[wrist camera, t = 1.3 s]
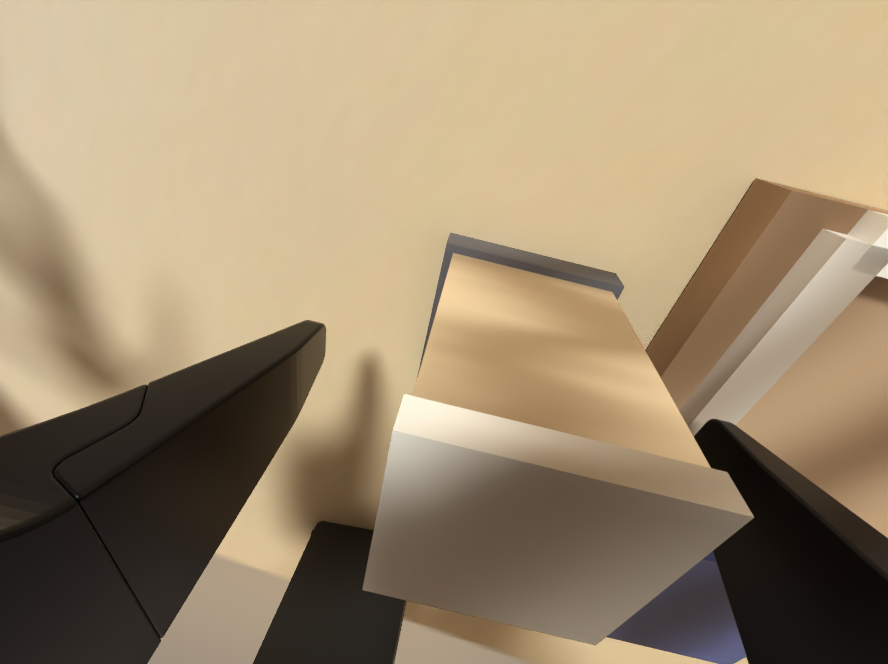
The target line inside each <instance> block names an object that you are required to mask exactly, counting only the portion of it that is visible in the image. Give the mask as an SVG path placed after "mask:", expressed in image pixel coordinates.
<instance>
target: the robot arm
mask: <svg viewBox="0 0 888 664" xmlns="http://www.w3.org/2000/svg"><path fill="white" fill-rule="evenodd" d="M325 346H326V327H325V325H324V324H323V323H319V322H315V321H311V320H306V321H303V322H300V323H298V324H295V325H293V326H290V327H288V328H285V329H283V330H280V331H278V332H275V333H273V334H270V335H268V336H265V337H263V338H260V339H258V340H255V341H253V342H250V343H248V344H245V345H243V346H240V347H238V348H235V349H232V350H230V351H227V352H225V353H222V354H220V355H217V356H215V357H212V358H210V359H207V360H205V361H202V362H200V363H197V364H195V365H192V366H190V367H187V368H185V369H182V370H180V371H177V372H175V373H172V374H170V375H167V376H165V377H162V378H160V379H157V380H155V381H152V382H150V383H149V384H148V386H147V385H142V386H139V387H137V388H134V389H132V390H129V391H127V392H124V393H122V394H119V395H116V396H114V397H111V398H108V399H106V400H103V401H101V402H98V403H95V404H93V405H90V406H87V407H85V408H82V409H79V410H76V411H73V412H70V413H68V414H65V415H62V416H59V417H56V418H53V419H50V420H47V421H44V422H42V423H39V424H36V425H33V426H30V427H27V428H24V429H21V430H18V431H15V432H12V433H9V434H6V435H3V436H0V664H147V663H148V661H149V659H150V658H151V657H152V655H153V653H154V652H155V650H156V648H157V647H158V645H159V643H160V642H161V639H160V638H162V637H163V636H164V635H165V633H166V632H167V630H168V628H169V627H170V625H171V623H172V622H173V620H174V619H175V617H176V615H177V614H178V612H179V610H180V609H181V607H182V605H183V604H184V602H185V601H186V599H187V597H188V596H189V594H190V592H191V591H192V589H193V587H194V586H195V584H196V582H197V581H198V579H199V578H200V576H201V574H202V573H203V571H204V569H205V568H206V566H207V565H208V563H209V561H210V560H211V558H212V557H213V555H214V553H215V552H216V550H217V548H218V547H219V545H220V543H221V542H222V540H223V539H224V537H225V535H226V534H227V532H228V530H229V529H230V527H231V526H232V524H233V522H234V521H235V519H236V517H237V516H238V514H239V512H240V511H241V509H242V508H243V506H244V504H245V503H246V501H247V499H248V498H249V496H250V495H251V493H252V491H253V490H254V488H255V486H256V485H257V483H258V482H259V480H260V478H261V477H262V475H263V473H264V472H265V470H266V468H267V467H268V465H269V464H270V462H271V460H272V459H273V457H274V455H275V454H276V452H277V451H278V449H279V447H280V446H281V444H282V442H283V441H284V439H285V437H286V436H287V434H288V433H289V431H290V429H291V428H292V426H293V424H294V423H295V421H296V419H297V417H298V415H299V413H300V411H301V409H302V407H303V405H304V403H305V400H306V398H307V396H308V394H309V392H310V389H311V387H312V385H313V383H314V381H315V379H316V376H317V374H318V372H319V370H320V368H321V365H322V363H323V361H324V357H325ZM694 439H695V440H696V442H697V444H698V446H699V447H700V449H701V451H702V453H703V455H704V456H705V458H706V460H707V462H708V464H709V465H710V467H711V468H712V469H716V470H720V471H725V472H728V474H729V476H730V477H731V479H732V481H733V482H734V484H735V486H736V487H737V489H738V491H739V493H740V494H741V496H742V498H743V499H744V501H745V503H746V504H747V506H748V508H749V509H750V511H751V513H752V514H753V516H754V518H753V519H752V520H750V521H749V522H748V523H747V524H745V525H744V526H743V527H742V528H741V529H739V530H738V531H737V532H736V533H734V534H733V535H732V536H731V537H729V538H728V539H727V540H726V541H724V542H723V543H722V544H721V545H719V546H718V547H717V548H716V549H715V550H713V553H714V556H715V559H716V562H717V565H718V569H719V572H720V575H721V578H722V581H723V584H724V587H725V591H726V594H727V597H728V600H729V603H730V606H731V609H732V613H733V616H734V619H735V622H736V625H737V628H738V631H739V635H740V638H741V641H742V644H743V647H744V650H745V653H746V657H747V660H748V663H749V664H888V538H887V537H886V536H884V535H883V534H882V533H880V532H879V531H878V530H876V529H875V528H874V527H872V526H871V525H869V524H868V523H867V522H865V521H864V520H863V519H861V518H860V517H859V516H857V515H856V514H855V513H853V512H852V511H851V510H849V509H848V508H847V507H845V506H844V505H843V504H841V503H840V502H838V501H837V500H836V499H834V498H833V497H832V496H830V495H829V494H828V493H826V492H825V491H824V490H822V489H821V488H820V487H818V486H817V485H816V484H814V483H813V482H811V481H810V480H809V479H807V478H806V477H805V476H803V475H802V474H801V473H799V472H798V471H797V470H795V469H794V468H793V467H791V466H790V465H789V464H787V463H786V462H784V461H783V460H782V459H780V458H779V457H778V456H776V455H775V454H774V453H772V452H771V451H770V450H768V449H767V448H766V447H764V446H763V445H762V444H760V443H759V442H757V441H756V440H755V439H753V438H752V437H751V436H749V435H748V434H747V433H745V432H744V431H743V430H741V429H740V428H739V427H737V426H736V425H734V424H733V423H731V422H727V421H723V420H719V419H710V420H708V421H707V422H706V423H705V424H704V425H703V426H702V428H701V429H700V430H699V431H698V432H697V433H696V434H695V436H694Z"/></svg>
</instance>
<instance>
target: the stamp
mask: <svg viewBox="0 0 888 664" xmlns="http://www.w3.org/2000/svg"><path fill="white" fill-rule="evenodd" d="M623 288H624V286H623V284H622V282H621V281H620V279H619V278H618V276H617V275H616V273H612V272H608V271H604V270H600V269H596V268H591V267H587V266H583V265H579V264H575V263H571V262H567V261H563V260H559V259H555V258H551V257H547V256H543V255H539V254H535V253H531V252H527V251H523V250H518V249H514V248H510V247H506V246H502V245H498V244H494V243H490V242H486V241H482V240H478V239H474V238H470V237H466V236H462V235H458V234H454V233H450V235H449V238H448V241H447V245H446V249H445V254H444V258H443V263H442V268H441V272H440V277H439V281H438V286H437V290H436V295H435V299H434V304H433V308H432V313H431V318H430V322H429V327H428V331H427V336H426V340H425V345H424V349H423V354H422V359H421V363H420V368H419V372H418V377H417V381H416V385H415V388H414V392H413V395H412V396H411V395H407V394H404V396H403V399H402V403H401V406H400V409H399V412H398V415H397V419H396V422H395V425H394V428H393V432H392V437H391V443H390V448H389V453H388V458H387V463H386V469H385V474H384V479H383V484H382V490H381V495H380V500H379V505H378V511H377V516H376V521H375V526H374V532H373V537H372V542H371V547H370V553H369V558H368V563H367V568H366V573H365V579H364V584H363V589H362V590H364V591H369V592H373V593H377V594H381V595H385V596H390V597H394V598H398V599H402V600H406V601H411V602H415V603H419V604H423V605H428V606H432V607H436V608H440V609H444V610H449V611H453V612H457V613H461V614H466V615H470V616H474V617H478V618H482V619H487V620H491V621H495V622H499V623H503V624H508V625H512V626H516V627H520V628H525V629H529V630H533V631H537V632H541V633H546V634H550V635H554V636H558V637H563V638H567V639H571V640H575V641H579V642H584V643H588V644H592V645H597V644H598V643H599V642H601V641H602V640H603V639H604V638H605V637H607V636H608V635H609V634H610V633H612V632H613V631H614V630H615V629H617V628H618V627H619V626H620V625H622V624H623V623H624V622H625V621H627V620H628V619H629V618H630V617H631V616H633V615H634V614H635V613H636V612H638V611H639V610H640V609H641V608H643V607H644V606H645V605H646V604H648V603H649V602H650V601H651V600H653V599H654V598H655V597H656V596H658V595H659V594H660V593H661V592H662V591H664V590H665V589H666V588H667V587H669V586H670V585H671V584H672V583H674V582H675V581H676V580H677V579H679V578H680V577H681V576H682V575H684V574H685V573H686V572H687V571H688V570H690V569H691V568H692V567H693V566H695V565H696V564H697V563H698V562H700V561H701V560H702V559H703V558H705V557H706V556H707V555H708V554H710V553H711V552H712V551H713V550H715V549H716V548H717V547H718V546H719V545H721V544H722V543H723V542H724V541H726V540H727V539H728V538H729V537H731V536H732V535H733V534H734V533H736V532H737V531H738V530H739V529H741V528H742V527H743V526H744V525H745V524H747V523H748V522H749V521H750V520H752V519H753V518H754V516H753V514H752V513H751V511H750V509H749V508H748V506H747V504H746V503H745V501H744V499H743V498H742V496H741V494H740V493H739V491H738V489H737V487H736V486H735V484H734V482H733V481H732V479H731V477H730V476H729V474H728V472H725V471H720V470H716V469H712V468H711V467H710V465H709V464H708V462H707V460H706V458H705V456H704V455H703V453H702V451H701V449H700V447H699V446H698V444H697V442H696V440H695V439H694V437H693V435H692V433H691V431H690V430H689V428H688V426H687V424H686V422H685V421H684V419H683V417H682V415H681V414H680V412H679V410H678V408H677V406H676V405H675V403H674V401H673V399H672V397H671V396H670V394H669V392H668V390H667V389H666V387H665V385H664V383H663V381H662V380H661V378H660V376H659V374H658V372H657V371H656V369H655V367H654V365H653V363H652V362H651V360H650V358H649V356H648V355H647V353H646V351H645V349H644V347H643V346H642V344H641V342H640V340H639V338H638V337H637V335H636V333H635V331H634V330H633V328H632V326H631V324H630V322H629V321H628V319H627V317H626V315H625V313H624V312H623V310H622V308H621V306H620V305H619V303H618V301H617V299H618V298H619V296H620V294H621V292H622V290H623Z"/></svg>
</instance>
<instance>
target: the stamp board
mask: <svg viewBox="0 0 888 664" xmlns="http://www.w3.org/2000/svg"><path fill="white" fill-rule="evenodd" d="M646 353H647V355H648V356H649V358H650V360H651V362H652V363H653V365H654V367H655V369H656V371H657V372H658V374H659V376H660V378H661V380H662V381H663V383H664V385H665V387H666V389H667V390H668V392H669V394H670V396H671V397H672V399H673V401H674V403H675V405H676V406H677V408H678V410H679V412H680V414H681V415H682V417H683V419H684V421H685V422H686V424H687V426H688V428H689V430H690V431H691V433H692V435H693V437H694V436H695V434H696V433H697V432H698V431H699V430H700V429H701V428H702V426H703V425H704V424H705V423H706V422H707V421H708V420H710V419H719V420H723V421H727V422H731V423H733V424H734V425H736V426H737V427H739V428H740V429H741V430H743V431H744V432H745V433H747V434H748V435H749V436H751V437H752V438H753V439H755V440H756V441H757V442H759V443H760V444H762V445H763V446H764V447H766V448H767V449H768V450H770V451H771V452H772V453H774V454H775V455H776V456H778V457H779V458H780V459H782V460H783V461H784V462H786V463H787V464H789V465H790V466H791V467H793V468H794V469H795V470H797V471H798V472H799V473H801V474H802V475H803V476H805V477H806V478H807V479H809V480H810V481H811V482H813V483H814V484H816V485H817V486H818V487H820V488H821V489H822V490H824V491H825V492H826V493H828V494H829V495H830V496H832V497H833V498H834V499H836V500H837V501H838V502H840V503H841V504H843V505H844V506H845V507H847V508H848V509H849V510H851V511H852V512H853V513H855V514H856V515H857V516H859V517H860V518H861V519H863V520H864V521H865V522H867V523H868V524H869V525H871V526H872V527H874V528H875V529H876V530H878V531H879V532H880V533H882V534H883V535H884V536H886V537H887V538H888V211H885V210H881V209H877V208H873V207H869V206H865V205H861V204H857V203H853V202H849V201H845V200H841V199H837V198H833V197H829V196H825V195H821V194H816V193H812V192H808V191H804V190H800V189H796V188H792V187H788V186H784V185H780V184H776V183H772V182H768V181H764V180H760V179H755V180H754V182H753V184H752V185H751V187H750V188H749V190H748V191H747V193H746V195H745V196H744V198H743V199H742V201H741V202H740V204H739V205H738V207H737V209H736V210H735V212H734V213H733V215H732V216H731V218H730V220H729V221H728V223H727V224H726V226H725V227H724V229H723V231H722V232H721V234H720V235H719V237H718V238H717V240H716V241H715V243H714V245H713V246H712V248H711V249H710V251H709V252H708V254H707V256H706V257H705V259H704V260H703V262H702V263H701V265H700V267H699V268H698V270H697V271H696V273H695V274H694V276H693V277H692V279H691V281H690V282H689V284H688V285H687V287H686V288H685V290H684V292H683V293H682V295H681V296H680V298H679V299H678V301H677V303H676V304H675V306H674V307H673V309H672V310H671V312H670V313H669V315H668V317H667V318H666V320H665V321H664V323H663V324H662V326H661V328H660V329H659V331H658V332H657V334H656V335H655V337H654V338H653V340H652V342H651V343H650V345H649V346H648V348H647V349H646ZM607 637H609V638H613V639H617V640H621V641H625V642H630V643H634V644H638V645H642V646H646V647H651V648H655V649H659V650H663V651H668V652H672V653H676V654H680V655H684V656H689V657H693V658H697V659H701V660H705V661H710V662H714V663H718V664H733V663H735V662H737V661H739V660H741V659H743V658H745V657H746V653H745V650H744V647H743V644H742V641H741V638H740V635H739V631H738V628H737V625H736V622H735V619H734V616H733V613H732V609H731V606H730V603H729V600H728V597H727V594H726V591H725V587H724V584H723V581H722V578H721V575H720V572H719V569H718V565H717V562H716V559H715V556H714V553H713V551H712V552H711V553H710V554H708V555H707V556H706V557H705V558H703V559H702V560H701V561H700V562H698V563H697V564H696V565H695V566H693V567H692V568H691V569H690V570H688V571H687V572H686V573H685V574H684V575H682V576H681V577H680V578H679V579H677V580H676V581H675V582H674V583H672V584H671V585H670V586H669V587H667V588H666V589H665V590H664V591H662V592H661V593H660V594H659V595H658V596H656V597H655V598H654V599H653V600H651V601H650V602H649V603H648V604H646V605H645V606H644V607H643V608H641V609H640V610H639V611H638V612H636V613H635V614H634V615H633V616H631V617H630V618H629V619H628V620H627V621H625V622H624V623H623V624H622V625H620V626H619V627H618V628H617V629H615V630H614V631H613V632H612V633H610V634H609V635H608V636H607Z"/></svg>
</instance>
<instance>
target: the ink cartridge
mask: <svg viewBox="0 0 888 664" xmlns="http://www.w3.org/2000/svg"><path fill="white" fill-rule="evenodd" d="M373 532H374V531H373V530H368V529H363V528H357V527H352V526H346V525H341V524H335V523H329V522H319V523H318V524H317V525H316V527H315V529H313V531H312V533H311V537H310V539H309V542H308V544H307V546H306V548H305V550H304V552H303V555H302V557H301V559H300V561H299V563H298V566H297V568H296V570H295V572H294V574H293V577H292V579H291V581H290V583H289V585H288V588H287V590H286V592H285V594H284V596H283V599H282V601H281V603H280V605H279V607H278V609H277V612H276V614H275V616H274V618H273V620H272V623H271V625H270V627H269V629H268V631H267V634H266V636H265V638H264V640H263V642H262V645H261V647H260V649H259V651H258V653H257V656H256V658H255V660H254V662H253V664H394V661H395V656H396V651H397V646H398V641H399V636H400V631H401V626H402V621H403V616H404V611H405V606H406V600H402V599H398V598H394V597H390V596H385V595H381V594H377V593H373V592H369V591H364V590H362V589H363V584H364V579H365V573H366V568H367V563H368V558H369V553H370V547H371V542H372V537H373Z"/></svg>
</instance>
